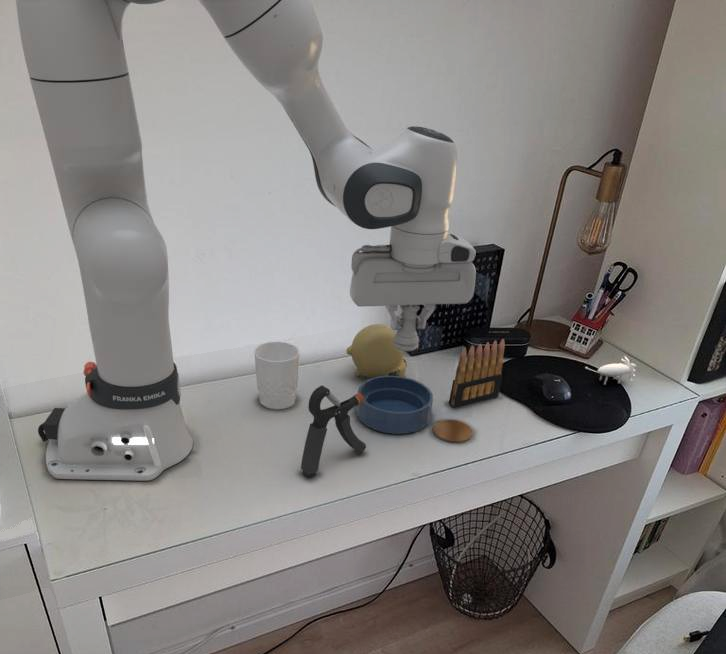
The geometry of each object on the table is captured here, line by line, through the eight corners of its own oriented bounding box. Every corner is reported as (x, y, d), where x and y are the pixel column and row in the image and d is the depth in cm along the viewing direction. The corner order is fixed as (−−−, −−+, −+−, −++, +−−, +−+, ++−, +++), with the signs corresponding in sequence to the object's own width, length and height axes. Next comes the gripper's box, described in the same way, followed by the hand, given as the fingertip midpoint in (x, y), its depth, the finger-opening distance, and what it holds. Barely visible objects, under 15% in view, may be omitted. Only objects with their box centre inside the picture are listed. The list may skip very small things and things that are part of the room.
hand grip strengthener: (367, 453, 115) (374, 373, 106) (308, 480, 108) (309, 397, 99) (358, 447, 116) (364, 368, 107) (299, 473, 109) (300, 391, 100)
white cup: (248, 404, 125) (245, 355, 119) (268, 386, 130) (267, 337, 124) (286, 415, 122) (286, 365, 116) (306, 396, 128) (306, 347, 122)
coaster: (440, 444, 118) (440, 442, 118) (427, 423, 124) (427, 421, 123) (477, 441, 120) (478, 439, 120) (463, 420, 125) (464, 418, 125)
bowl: (366, 438, 118) (368, 415, 116) (349, 399, 129) (350, 377, 126) (439, 432, 121) (443, 410, 119) (416, 394, 132) (419, 373, 129)
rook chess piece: (416, 354, 114) (422, 308, 109) (390, 349, 115) (395, 304, 110) (420, 342, 118) (426, 298, 113) (394, 338, 118) (399, 294, 113)
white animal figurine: (623, 374, 144) (630, 353, 141) (638, 386, 140) (645, 365, 137) (573, 378, 141) (579, 357, 138) (586, 390, 137) (592, 369, 134)
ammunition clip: (492, 392, 134) (504, 336, 127) (498, 397, 133) (510, 340, 126) (448, 403, 130) (457, 345, 122) (453, 408, 128) (463, 350, 121)
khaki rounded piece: (367, 402, 135) (408, 380, 128) (331, 352, 132) (371, 327, 125) (386, 379, 142) (425, 358, 136) (352, 331, 139) (391, 307, 132)
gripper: (357, 252, 101) (351, 338, 109) (485, 251, 106) (470, 333, 114) (348, 238, 106) (343, 322, 114) (470, 237, 111) (457, 318, 119)
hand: (407, 328), depth 114 cm, fingers closed on rook chess piece, 3 cm apart
